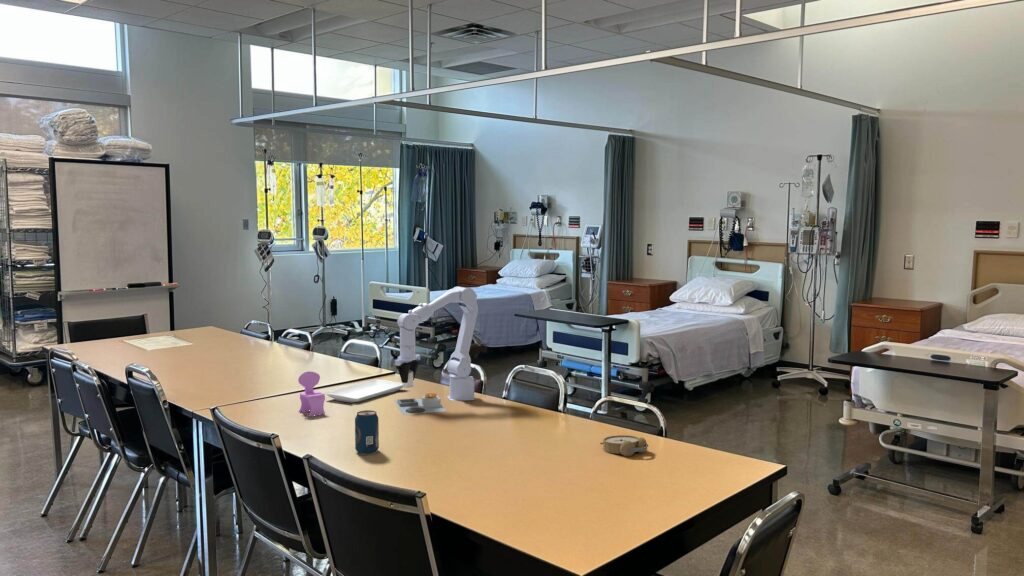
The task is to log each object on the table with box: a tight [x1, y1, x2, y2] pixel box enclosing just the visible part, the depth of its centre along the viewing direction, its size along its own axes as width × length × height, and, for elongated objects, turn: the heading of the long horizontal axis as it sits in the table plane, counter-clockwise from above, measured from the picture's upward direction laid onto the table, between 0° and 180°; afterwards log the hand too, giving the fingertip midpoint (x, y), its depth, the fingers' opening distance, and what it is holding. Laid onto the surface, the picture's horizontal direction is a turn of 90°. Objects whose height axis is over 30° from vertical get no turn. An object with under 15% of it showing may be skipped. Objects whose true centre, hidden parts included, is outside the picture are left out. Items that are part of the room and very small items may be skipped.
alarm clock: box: [599, 434, 649, 458], centre depth 225 cm, size 11×5×15 cm
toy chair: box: [297, 370, 326, 417], centre depth 268 cm, size 8×9×15 cm
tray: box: [324, 378, 404, 404], centre depth 298 cm, size 17×31×4 cm, turn 150°
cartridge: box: [403, 370, 414, 389], centre depth 280 cm, size 4×4×6 cm
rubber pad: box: [406, 408, 425, 414], centre depth 271 cm, size 7×7×1 cm
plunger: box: [424, 392, 438, 399], centre depth 278 cm, size 4×4×4 cm
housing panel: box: [394, 395, 448, 415], centre depth 278 cm, size 16×22×4 cm
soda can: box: [354, 409, 380, 456], centre depth 223 cm, size 7×7×12 cm
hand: (407, 381), depth 280 cm, fingers closed on cartridge, 4 cm apart
